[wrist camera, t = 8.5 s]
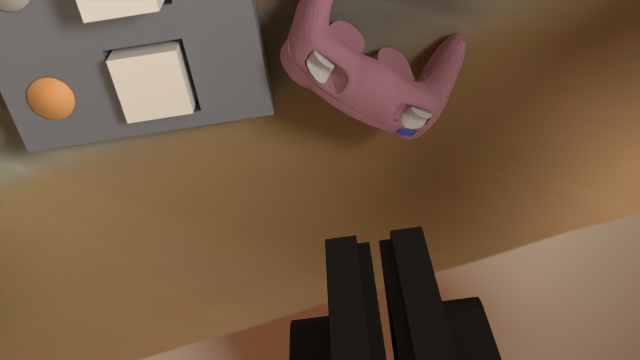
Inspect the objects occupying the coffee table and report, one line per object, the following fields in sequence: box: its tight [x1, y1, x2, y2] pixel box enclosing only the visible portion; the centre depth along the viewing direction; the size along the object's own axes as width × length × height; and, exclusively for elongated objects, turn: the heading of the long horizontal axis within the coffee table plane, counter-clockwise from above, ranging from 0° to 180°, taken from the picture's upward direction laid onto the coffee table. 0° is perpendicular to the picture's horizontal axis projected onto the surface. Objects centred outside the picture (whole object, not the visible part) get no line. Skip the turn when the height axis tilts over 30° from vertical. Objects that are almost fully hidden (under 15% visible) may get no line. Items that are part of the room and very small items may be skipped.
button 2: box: [106, 39, 197, 124], centre depth 33 cm, size 4×4×3 cm
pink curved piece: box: [280, 0, 466, 140], centre depth 33 cm, size 10×5×7 cm, turn 60°
